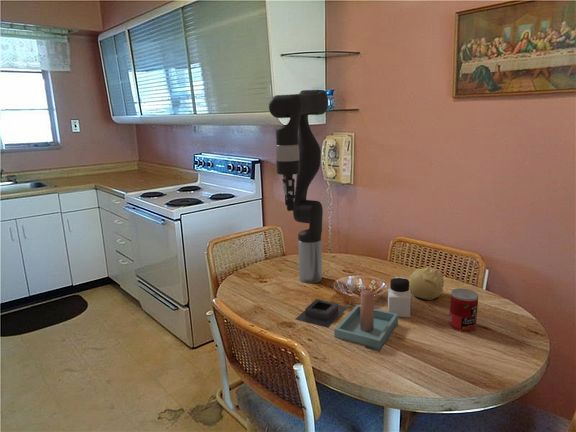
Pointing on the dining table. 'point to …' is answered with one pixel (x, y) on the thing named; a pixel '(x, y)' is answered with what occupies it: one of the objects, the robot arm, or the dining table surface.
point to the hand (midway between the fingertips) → (289, 207)
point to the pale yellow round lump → (426, 283)
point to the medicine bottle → (399, 297)
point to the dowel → (367, 311)
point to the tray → (373, 339)
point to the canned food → (463, 309)
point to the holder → (321, 313)
